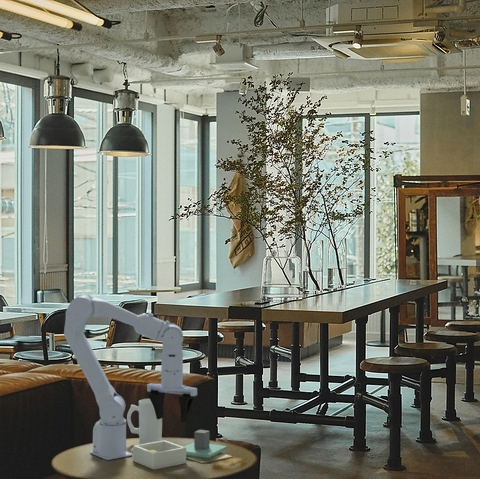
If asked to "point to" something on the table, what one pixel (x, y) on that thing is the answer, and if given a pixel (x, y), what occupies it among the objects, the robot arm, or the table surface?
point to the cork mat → (214, 458)
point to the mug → (146, 422)
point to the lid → (203, 446)
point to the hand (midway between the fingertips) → (171, 420)
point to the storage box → (159, 454)
